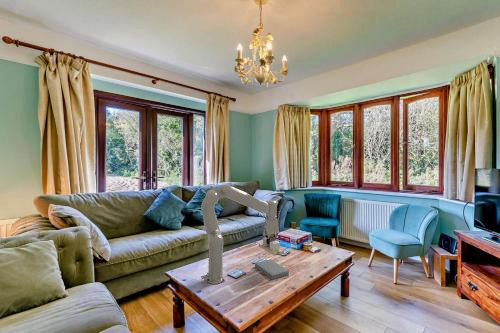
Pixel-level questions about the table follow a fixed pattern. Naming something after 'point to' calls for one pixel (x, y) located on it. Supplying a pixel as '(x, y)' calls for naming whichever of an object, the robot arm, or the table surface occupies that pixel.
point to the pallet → (270, 249)
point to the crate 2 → (274, 245)
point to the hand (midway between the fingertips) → (271, 242)
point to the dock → (272, 269)
